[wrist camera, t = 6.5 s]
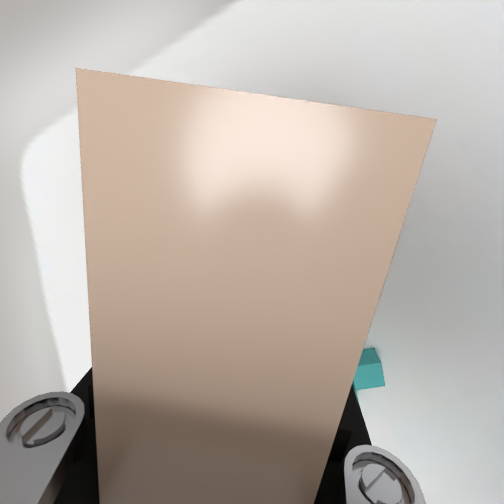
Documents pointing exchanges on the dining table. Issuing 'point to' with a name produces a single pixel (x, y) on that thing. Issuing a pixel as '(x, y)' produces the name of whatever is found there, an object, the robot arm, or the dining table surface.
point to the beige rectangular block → (231, 280)
